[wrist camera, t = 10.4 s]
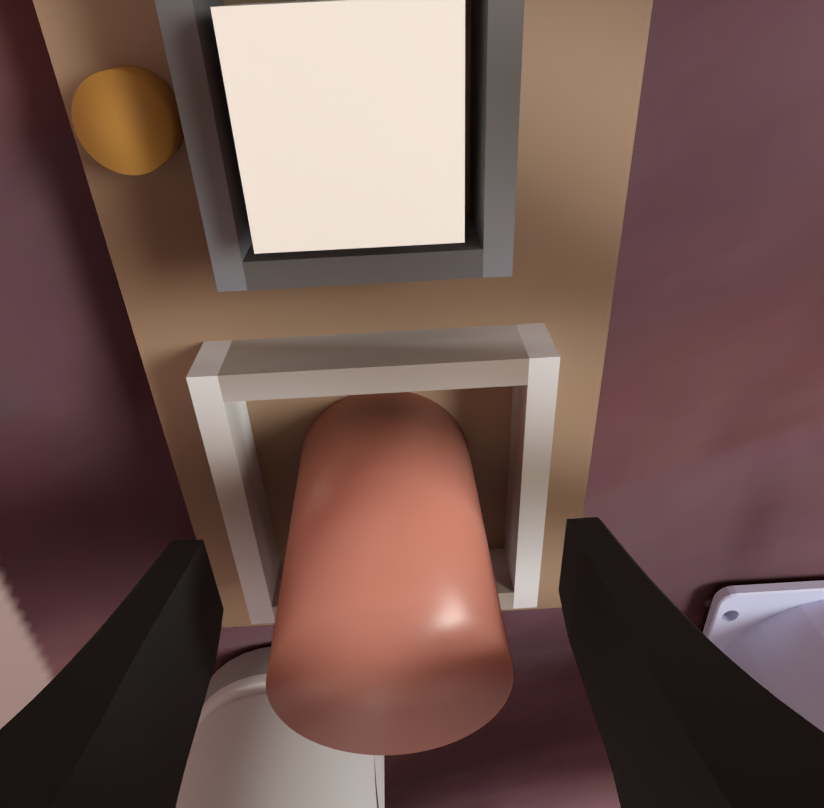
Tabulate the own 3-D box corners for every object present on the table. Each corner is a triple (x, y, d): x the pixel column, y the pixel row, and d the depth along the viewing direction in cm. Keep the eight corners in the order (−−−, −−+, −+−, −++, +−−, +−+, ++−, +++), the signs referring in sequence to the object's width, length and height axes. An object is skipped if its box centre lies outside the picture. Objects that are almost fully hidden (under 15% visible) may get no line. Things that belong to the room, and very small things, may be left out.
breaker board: (558, 567, 20) (589, 667, 17) (232, 587, 20) (207, 691, 17) (687, -547, 9) (846, -826, 6) (-72, -518, 8) (-312, -785, 6)
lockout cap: (463, 520, 17) (501, 750, 12) (307, 524, 17) (277, 760, 12) (473, 388, 15) (526, 600, 10) (294, 389, 14) (252, 608, 9)
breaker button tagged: (451, 202, 12) (464, 242, 10) (274, 211, 12) (254, 253, 10) (449, -8, 10) (465, -6, 8) (242, 3, 10) (210, 6, 8)
